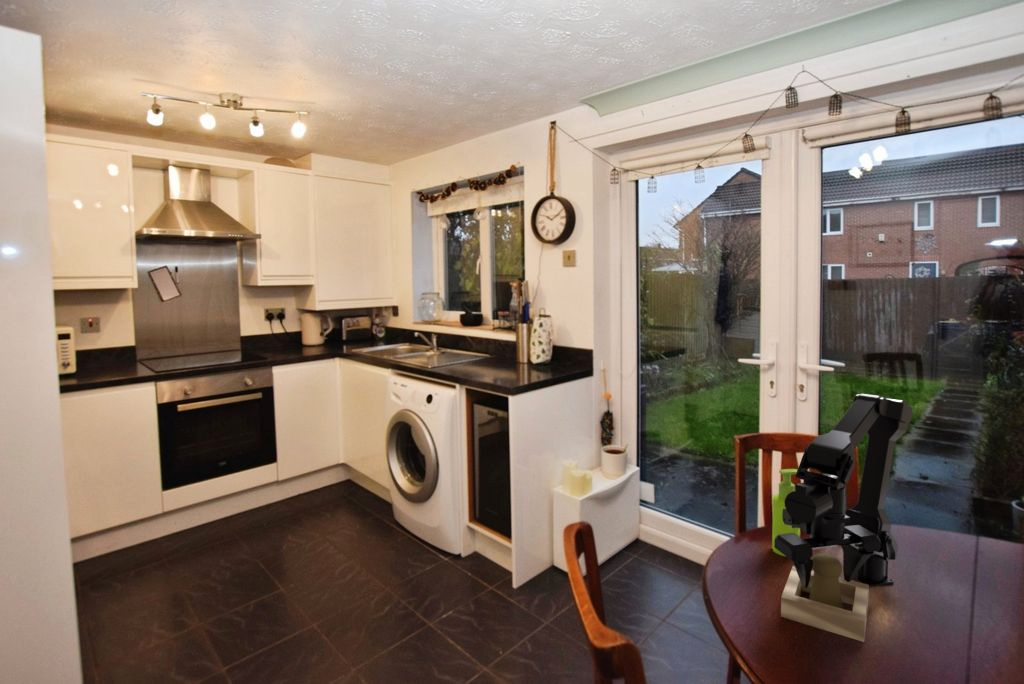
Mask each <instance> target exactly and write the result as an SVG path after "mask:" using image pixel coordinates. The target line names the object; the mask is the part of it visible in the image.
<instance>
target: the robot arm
mask: <svg viewBox="0 0 1024 684" xmlns="http://www.w3.org/2000/svg"><path fill="white" fill-rule="evenodd" d="M913 412H914V411H913V408H912V407H911V406H910V405H908V403H907V400H906V401H905V400H903V399H895V398H887V397H883V396H882V395H875V394H869V393H860V394H856V395H855V396H854V398H853V401H852V404H851V406H850V407H849V408H848V410H846V412H845V413H844V414H843V416H842V417H841V418H840V419H839V421H838V422H837V423H836V425H834V427H833V428H832V430H831V431H829V432H827V433H824V434H820V435H818V436H816V437H815V438H814V439H813V440H812V441H811V442H810V443H808V445H807V446H806V447H805V449H804V451H803V454H802V457H801V460H800V462H799V465H798V467H797V469H798V470H797V473H796V474H795V478H796V479H799V480H802V481H803V482H798V483H796V484H795V490H794V491H792V492H790V493H789V494H788V495H787V496H786V499H785V502H784V503H785V508H786V509H783V513H782V518H783V522H784V524H785V525H791V526H792V528H800V529H801V531H802V533H804V535H808V536H809V537H807V538H802V537H801V536H800V537H799V536H798V535H796V534H795V533H788V534H780V535H777V536H776V537H775V540H774V547H775V548H776V549H777V550H778V551H780V552H781V553H782V554H784V555H785V556H786V558H788V559H789V560H790V561H792V564H793V566H795V568H796V571H797V574H798V576H799V579H800V581H801V584H802V586H803V587H805V588H807V587H808V584H809V581H810V576H811V571H813V569H812V567H813V560H812V557H813V556H814V555H813V553H814V551H813V550H819V549H827V548H834V547H839V546H840V547H841V549H842V553H843V554H842V557H843V561H842V563H843V564H842V573H843V575H842V576H843V579H844V580H846V581H847V582H850V581H852V579H853V578H854V579H855V580H857V582H859V583H863V584H867V585H869V588H870V587H877V586H878V587H879V586H883V585H884V586H885V585H892V584H894V583H895V582H894V581H895V580H894V579H892V578H891V577H889V576H888V574H889V561H891V560H892V561H895V560H897V555H898V551H899V550H898V548H899V544H898V542H897V540H896V539H895V537H894V536H893V535H892V532H891V531H892V530H891V529H892V523H891V521H890V518H889V516H888V515H887V512H886V510H885V506H886V505H885V504H886V500H887V499H886V498H887V494H888V489H889V488H888V487H889V481H890V474H891V469H892V464H893V457H894V451H895V446H896V445H895V444H896V442H897V441H898V440H899V439H900V438H901V437H902V436H903V435H904V434H905V433H906V432H907V430H908V427H909V424H910V423H911V421H912V419H913ZM865 435H867V436H868V440H867V445H866V450H865V456H864V462H863V469H862V474H861V479H860V480H861V481H860V484H859V485H860V486H859V491H858V499H857V502H856V503H855V505H854V506H852V507H851V508H847V510H846V490H847V489H846V487H847V486H846V485H847V484H848V482H849V481H850V478H851V475H852V473H853V472H854V469H855V467H856V456H855V450H856V449H857V446H859V444H860V442H861V441H862V440H863V438H864V437H865ZM809 469H810V470H812V471H810V470H809ZM813 471H814V472H813ZM815 471H816V472H815ZM821 473H822V474H821ZM785 556H784V557H785Z"/></svg>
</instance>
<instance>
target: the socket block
mask: <svg viewBox="0 0 1024 684" xmlns="http://www.w3.org/2000/svg"><path fill="white" fill-rule="evenodd" d="M813 575H814V571H813V570H812V571H811V576H810V581H809V584H808V587H807V588H805V587H803V586H802V584H801V581H800V579H799V576H798V574H797V571H796V568H795V566H794V565H792V567H791V570H790V573H789V575H788V578H787V580H786V583H785V585H784V588H783V591H782V594H781V596H780V617H781V618H785V619H788V620H790V621H794V622H798V623H799V624H803V625H806V626H810V627H814V628H816V629H819V630H820V629H821V630H822V631H823V630H824V631H826V632H830V633H833V634H836V635H839V636H843V637H846V638H850V639H854V640H856V641H859V642H863V643H864V642H865V640H866V639H865V637H866V629H867V628H866V627H867V620H868V611H869V610H868V609H869V595H870V594H869V589H870V587H869V585H867V584H863V583H861V582H860V581H855V580H851V581H850V582H847V581H846V580H844V577H843V578H842V577H839V584H840V592H841V600H842V603H844V604H848V605H852V610H848V609H845V608H843V609H841V608H838V607H834V606H831V605H827V604H823V603H820V602H816V601H813V600H809V598H806V597H802V596H801V594H802V592H805V593H808V594H810V591H811V586H812V580H813Z"/></svg>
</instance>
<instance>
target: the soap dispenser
mask: <svg viewBox="0 0 1024 684" xmlns="http://www.w3.org/2000/svg"><path fill="white" fill-rule="evenodd" d="M797 470H798V468H797V469H796V468H786V469H785V468H784V469H779V470H778V471H779V474H781V475H782V481H780V482H779V483H778V493H776V494H774V495H772V531H771V532H772V533H771V534H772V535H771V536H772V537H771V538H772V540H771V541H772V542H771V549H773V550H772V552H774V553H775V554H777V555H779V556H782V557H786V556H785V555H784V554H782V553H781V552H780V551H778V550H777V549H776V548H775V547H774V540H775V537H776V536H777V535H780V534H788V533H795V534H796V535H798V536H799V537H801V528H792V526H791V525H785V524H784V522H783V518H782V513H783V509H786V508H785V503H784V502H785V499H786V496H787V495H788V494H789V493H790V492H792V491H794V490H796V484H794V483H793V482H792V475H796V473H797ZM786 558H787V557H786Z"/></svg>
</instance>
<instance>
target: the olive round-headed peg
mask: <svg viewBox="0 0 1024 684" xmlns="http://www.w3.org/2000/svg"><path fill="white" fill-rule="evenodd" d="M811 560H813V567H812V571H814V575H813V580H812V586H811V591H810V593H809V596H808V597H809V598H808V599H809V600H813V601H816V602H820V603H823V604H827V605H831V606H834V607H838V608H841V609H844V608H843V602H842V600H841V592H840V584H839V578H840V576H841V574H842V573H843V564H842V563H841V561H840V560H839V558H837V557H836V556H834V555H831V554H827V553H816V554H814V555H813V556H812V557H811Z"/></svg>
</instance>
